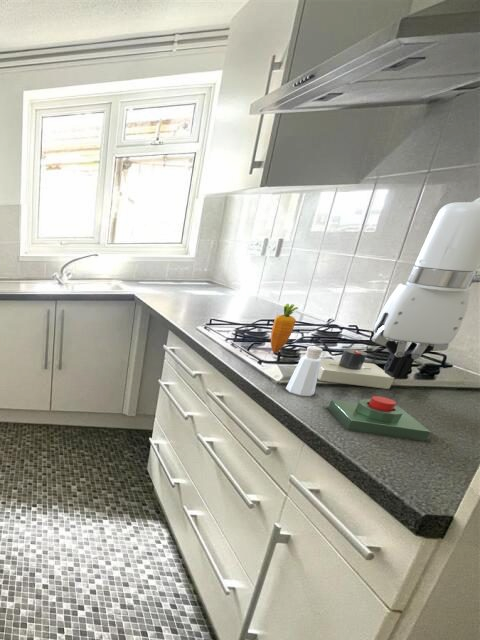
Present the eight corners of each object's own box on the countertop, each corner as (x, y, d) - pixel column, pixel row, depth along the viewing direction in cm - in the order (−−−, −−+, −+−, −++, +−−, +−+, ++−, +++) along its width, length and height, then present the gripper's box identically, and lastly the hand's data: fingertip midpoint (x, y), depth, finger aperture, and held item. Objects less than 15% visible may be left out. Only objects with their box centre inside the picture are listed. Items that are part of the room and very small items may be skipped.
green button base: (397, 418, 87) (405, 400, 85) (425, 441, 78) (435, 423, 77) (327, 408, 91) (334, 391, 89) (347, 429, 82) (354, 411, 80)
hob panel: (369, 374, 109) (374, 363, 107) (389, 389, 100) (394, 377, 99) (305, 367, 113) (309, 356, 112) (319, 380, 105) (323, 369, 103)
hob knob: (335, 362, 108) (341, 346, 106) (356, 364, 107) (363, 348, 105) (342, 368, 104) (349, 352, 103) (364, 370, 103) (371, 354, 101)
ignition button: (387, 405, 84) (390, 397, 83) (396, 413, 81) (400, 405, 80) (364, 402, 85) (368, 395, 84) (373, 410, 82) (376, 402, 81)
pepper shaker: (299, 386, 101) (314, 343, 97) (319, 395, 96) (337, 351, 92) (279, 387, 100) (294, 344, 96) (299, 397, 96) (316, 352, 91)
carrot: (266, 349, 127) (282, 300, 121) (286, 353, 123) (303, 303, 117) (262, 353, 123) (278, 303, 117) (282, 357, 120) (299, 306, 114)
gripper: (480, 279, 74) (431, 374, 81) (375, 272, 78) (338, 363, 86) (513, 286, 67) (456, 389, 75) (396, 278, 72) (354, 376, 79)
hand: (393, 375), depth 80 cm, fingers closed
